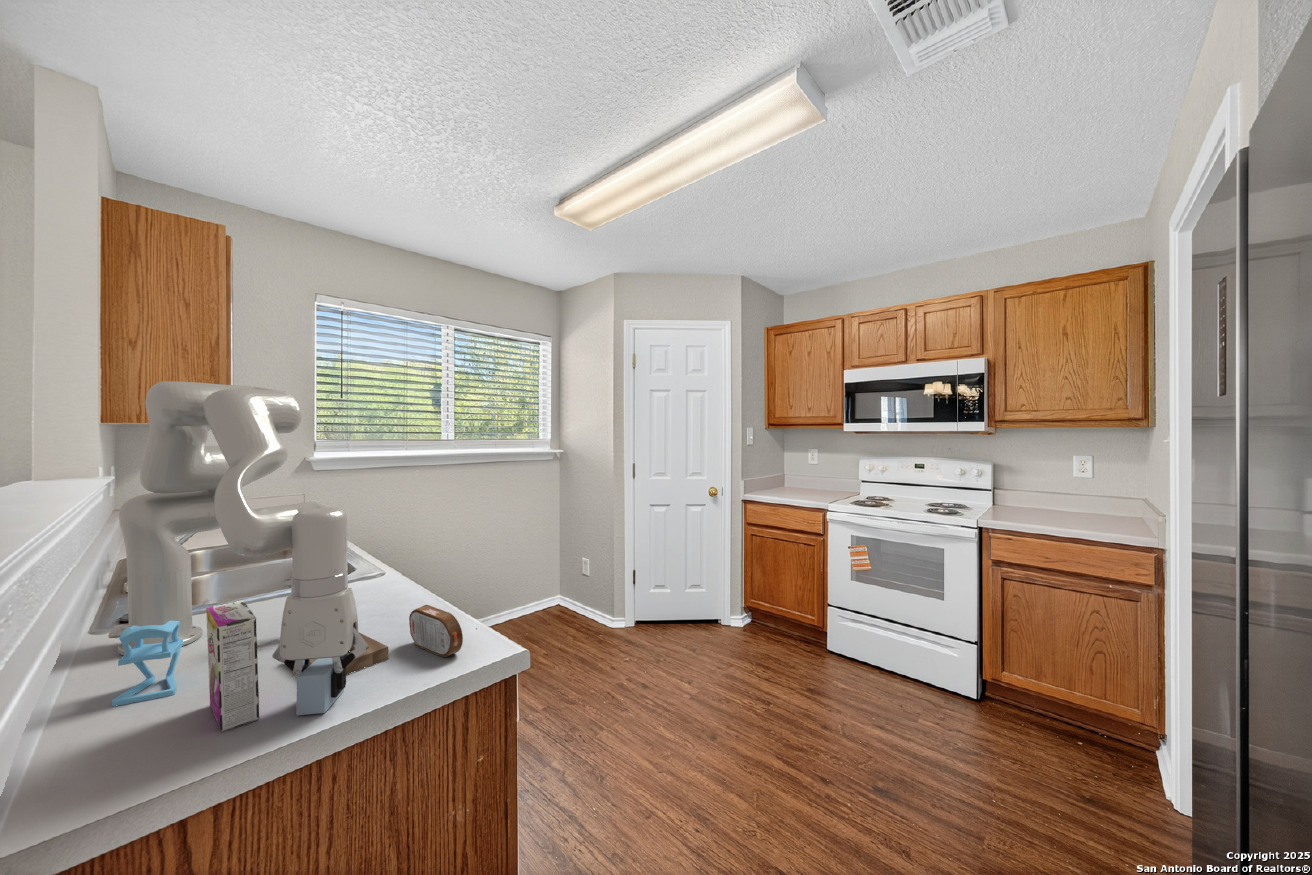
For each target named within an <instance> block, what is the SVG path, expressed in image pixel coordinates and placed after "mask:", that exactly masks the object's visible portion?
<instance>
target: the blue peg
mask: <svg viewBox="0 0 1312 875" xmlns="http://www.w3.org/2000/svg"><path fill="white" fill-rule="evenodd" d="M333 672H334V667H333V662H332V658H320V659H317V660H315V661H314V662H313V663H312V664H311V665H310V666H309V667H307V668H306V669H305V670H304V671H303V672H302V673H301V674H299V675H298V676H296V713H295V714H296V716H304V715H315V714H316V715H317V714H324V713H326V712H327V711H328V710H329V709H330V707H331V706H333V704H334V703H335V702H336V701H337V699H338V698H339V697H341V695H342V694H343V693H344V692H345V688H344V689H343V690H342V691H341V692H340V693H339V695H338V696H337V697H335V698H332V697H331V675H332V673H333Z"/></svg>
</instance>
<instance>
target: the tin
mask: <svg viewBox="0 0 1312 875" xmlns="http://www.w3.org/2000/svg"><path fill="white" fill-rule="evenodd" d="M408 619H409V623H408V624H409V633H410V635H411V638H412V641H413V642H414V643H415V644H416V646H417V647H418V648H421V649H423V650H425V651H427V650H428V651H427V652H430V653H433V654H434V655H436V654H437V656H439V657H441V656H442V658H447V657H449V656H452V655H453V654H456V653H458V652H460V650H461V649H462V646H463V643H464V640H463V638H464V637H463V630H462V627H461V624H460V622H459V620H458V619H457V617H455V615H454V614H452V613H451V612H449V611H446V610H443V609H441V608H438V607H435V606H432V605H429V604H423V605H422V606H419V607H417V608H415V609H413V610H412V611H411V612H410V614H409V616H408Z"/></svg>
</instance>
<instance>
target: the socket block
mask: <svg viewBox="0 0 1312 875" xmlns="http://www.w3.org/2000/svg"><path fill="white" fill-rule="evenodd" d="M359 634H360V635H361V636H362V638H363V639H364V640H365V642H366V643H367V644H368V646H369V648H368V649H367V650H366V652H365V653H363V654H362V655H360V656H359V657H357V658H355V659H354V660H353V661H352V662H351V663H350V664H349V665H348V666H347V667H346V676H348V675H350V674H349V673H351V672H354V671H356V672H359V671H361V670H360V669H362V670H364V669H365V668H364V667H367V668H369V667H372V666H374V664H375V665H377V664H379V663H382V661H383V662H385V661H388V660H389V646H388V645H387V644H384V643H382V642H380V641H378V640H376V639H374V638H371V637H369V636H368V635H365V634H363V633H361V632H359ZM354 649H355V647H354V646H353V645H352V646H351V649H350V650H349V651H350V652H351V651H353V650H354ZM387 659H388V660H387ZM315 660H317V659H311V660H310V665H311V664H312V663H313V662H314V661H315ZM376 663H377V664H376ZM310 665H309V666H310ZM371 665H372V666H371ZM368 666H369V667H368ZM363 668H364V669H363ZM358 670H359V671H358ZM354 673H355V672H354ZM347 674H348V675H347ZM351 674H352V673H351Z"/></svg>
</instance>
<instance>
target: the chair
mask: <svg viewBox="0 0 1312 875" xmlns="http://www.w3.org/2000/svg"><path fill="white" fill-rule="evenodd" d="M179 627H180V621H168V622H167V623H166V624H164V625H147V626H142V627H141V626H139V627H138V626H131V627H129V628H127V629H125V630H124V631H123V632H122V633H121V635H120V637H119V638H118V639H119V641H120V642H121V643H122V645H123V647H124V649H125V654H124V655H122V657H121V658H118V660H117V662H118V663H117V665H118V666H119V667H120V666H126V665H130V664H134V665H135V666H136V667H137V669H138V670H139V671H140V672H141V673H142V674H143V676H144V677H145V679H144V680H143V681H141V682H140V683H138V684H136V685H134V686H133V687H131V688H129V689H128V690H126V691H125V692H123V693H121V694H119V695H118V696H116V697H115V698H114V699H112V700H111V707H113V706H114V707H117V706H116V705H120V706H124V704H125V705H128V704H129V703H130V704H133V702H135V703H140V702H145V701H150V700H155V699H161V698H165V697H170V696H174V695H176V693H177V684H176V681H175V670H176V666H177V664H178V660H179V656H180V653H181V650H182V647H183V646H182V644H183V639H179V638H178V630H179ZM172 632H173V633H172ZM171 633H172V636H171V637H172V641H168V640H169V636H170V635H171ZM145 638H164V639H163V642H161V643H155V644H145V645H143V639H145ZM132 641H136V646H134V647H133V648H132V649H131V647H130V645H129V644H128V643H129V642H132ZM121 643H120V644H121ZM167 658H171V660H170V663H169V666H168V669H167V671H166V674H165V681H166V686H167V689H162V690H158V691H152V692H147V693H146V692H145V693H141V694H137V693H139V692H141V691H142V690H144V689H146V688H147V687H149V686H151V685H152V684H153V683H155V682H156V675H155V674H154V673H153V672H152V670H150V668H149V667H148V666H147V664H146V663H145V662H144V661H149V660H163V659H167ZM135 693H136V694H137V695H136V694H135Z"/></svg>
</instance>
